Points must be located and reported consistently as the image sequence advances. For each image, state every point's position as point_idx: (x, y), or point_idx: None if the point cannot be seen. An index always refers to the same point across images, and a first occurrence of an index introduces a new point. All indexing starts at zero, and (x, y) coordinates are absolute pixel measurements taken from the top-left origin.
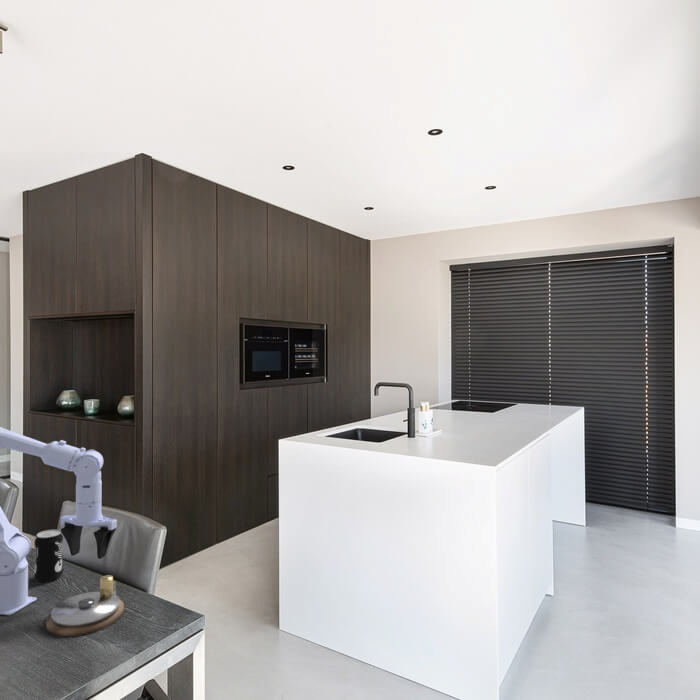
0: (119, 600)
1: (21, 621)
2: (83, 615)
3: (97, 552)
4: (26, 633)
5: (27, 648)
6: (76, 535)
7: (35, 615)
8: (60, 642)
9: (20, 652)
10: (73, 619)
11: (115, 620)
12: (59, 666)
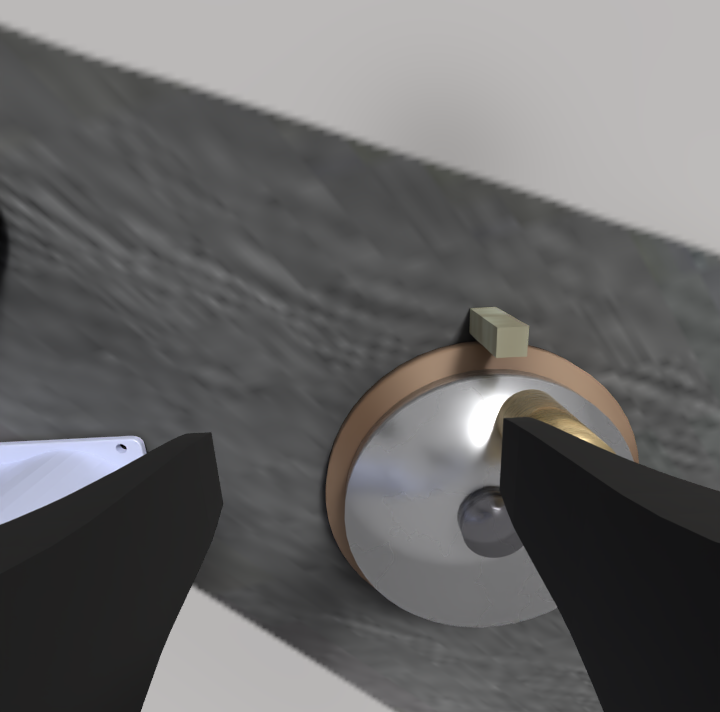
0: (568, 370)
1: (251, 572)
2: (535, 576)
3: (531, 551)
4: (344, 619)
5: (424, 672)
6: (102, 631)
7: (262, 528)
8: (505, 627)
9: (420, 689)
10: (514, 606)
11: None
12: (591, 704)
